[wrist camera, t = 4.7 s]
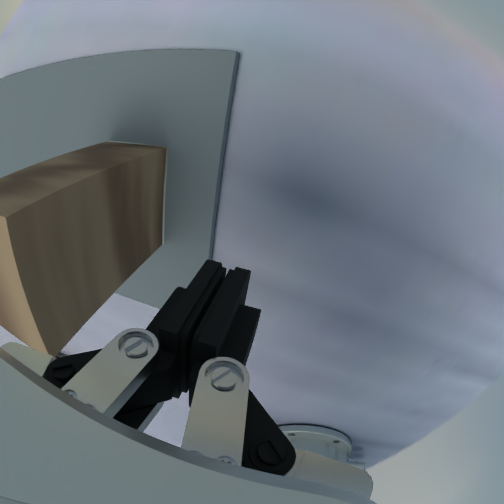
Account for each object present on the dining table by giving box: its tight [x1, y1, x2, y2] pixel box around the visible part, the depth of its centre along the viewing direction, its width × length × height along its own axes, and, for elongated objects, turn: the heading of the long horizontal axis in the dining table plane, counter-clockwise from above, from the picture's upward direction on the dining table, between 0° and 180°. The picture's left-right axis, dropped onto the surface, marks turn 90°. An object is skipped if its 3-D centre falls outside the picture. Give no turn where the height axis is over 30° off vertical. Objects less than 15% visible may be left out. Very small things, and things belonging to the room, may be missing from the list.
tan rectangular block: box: [0, 141, 169, 358], centre depth 14 cm, size 5×7×12 cm
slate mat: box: [0, 49, 240, 309], centre depth 21 cm, size 26×20×1 cm
